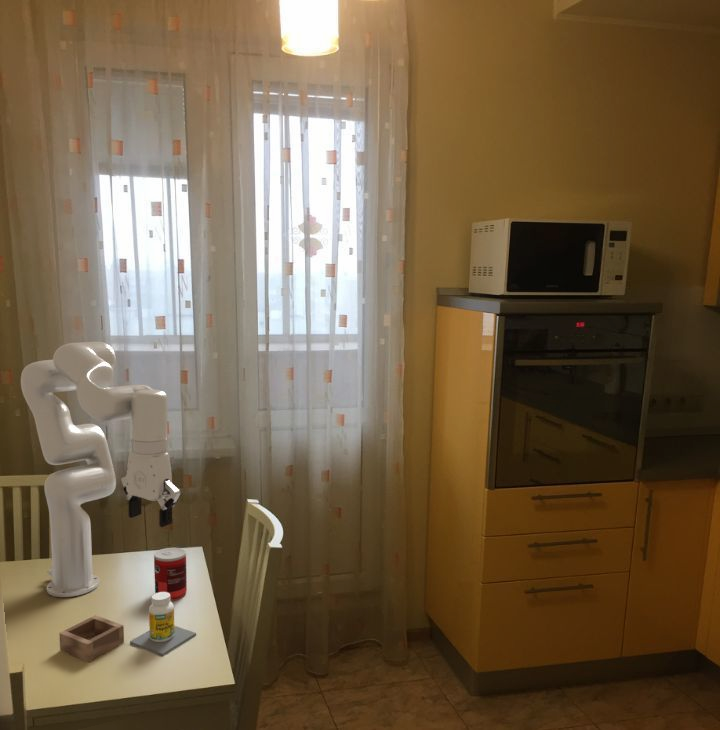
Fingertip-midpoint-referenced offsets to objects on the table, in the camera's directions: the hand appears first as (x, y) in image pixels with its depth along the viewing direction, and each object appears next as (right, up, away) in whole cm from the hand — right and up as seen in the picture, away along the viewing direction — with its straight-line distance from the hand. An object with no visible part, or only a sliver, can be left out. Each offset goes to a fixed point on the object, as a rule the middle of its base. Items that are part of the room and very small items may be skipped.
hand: (150, 520), depth 148 cm
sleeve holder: (-11, -27, -4) cm, 29 cm away
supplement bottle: (+3, -26, -1) cm, 26 cm away
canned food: (-1, -24, +21) cm, 32 cm away
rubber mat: (+3, -26, -1) cm, 27 cm away
